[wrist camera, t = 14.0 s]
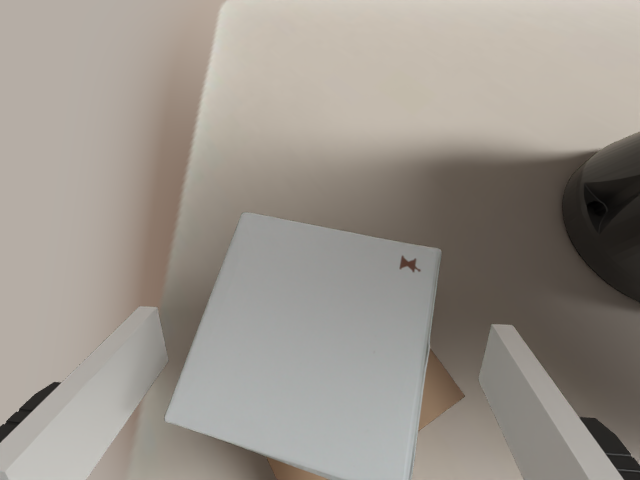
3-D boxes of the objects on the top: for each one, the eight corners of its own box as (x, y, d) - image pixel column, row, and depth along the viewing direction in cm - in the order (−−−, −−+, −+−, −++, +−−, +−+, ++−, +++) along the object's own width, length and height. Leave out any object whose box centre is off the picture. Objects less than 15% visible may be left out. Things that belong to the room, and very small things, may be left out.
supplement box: (293, 290, 24) (241, 201, 12) (399, 317, 23) (451, 244, 11) (259, 403, 21) (152, 422, 10) (377, 440, 20) (415, 514, 8)
